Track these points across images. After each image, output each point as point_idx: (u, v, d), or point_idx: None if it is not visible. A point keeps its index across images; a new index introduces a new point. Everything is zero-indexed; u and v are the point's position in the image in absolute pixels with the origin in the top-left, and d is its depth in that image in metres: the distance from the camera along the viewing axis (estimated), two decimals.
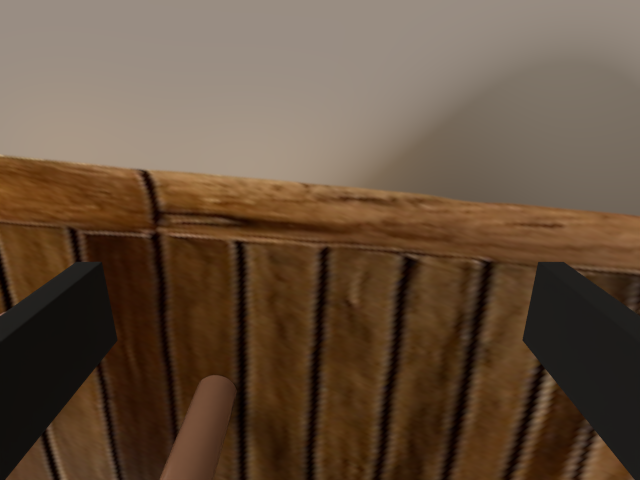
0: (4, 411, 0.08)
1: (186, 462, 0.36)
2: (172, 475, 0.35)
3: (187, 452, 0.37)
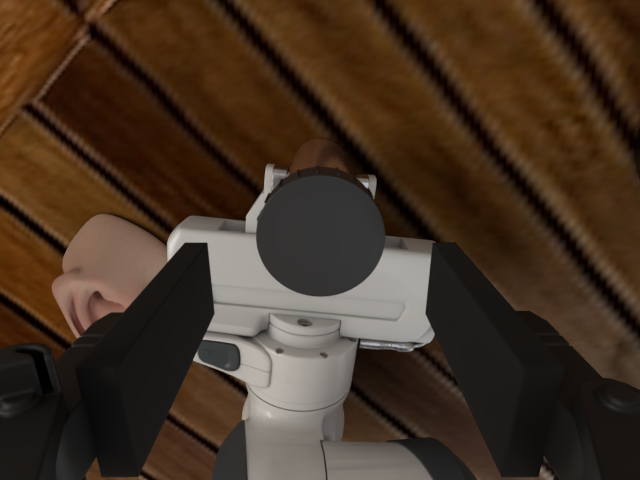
0: (165, 361, 0.10)
1: (293, 172, 0.23)
2: None
3: (292, 171, 0.24)
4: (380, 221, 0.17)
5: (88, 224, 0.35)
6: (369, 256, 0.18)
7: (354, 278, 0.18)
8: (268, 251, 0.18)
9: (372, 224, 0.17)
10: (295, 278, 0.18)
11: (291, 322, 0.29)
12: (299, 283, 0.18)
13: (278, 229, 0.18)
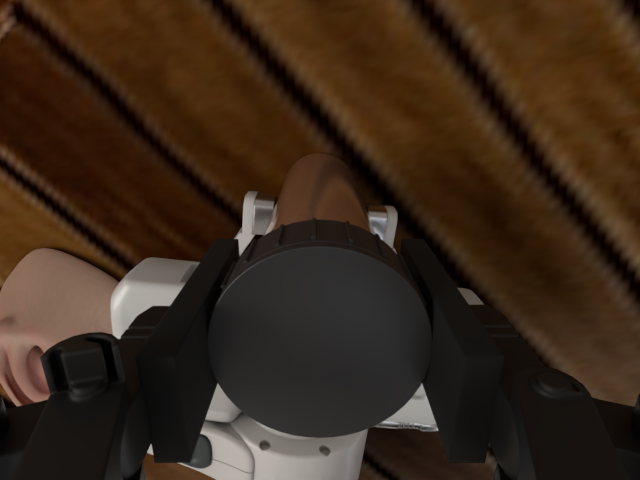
0: None
1: (280, 214, 0.15)
2: None
3: (278, 211, 0.16)
4: (425, 322, 0.10)
5: (24, 261, 0.28)
6: (404, 377, 0.10)
7: (377, 411, 0.11)
8: (229, 370, 0.10)
9: (411, 327, 0.10)
10: (277, 410, 0.11)
11: None
12: (284, 418, 0.11)
13: (245, 335, 0.10)
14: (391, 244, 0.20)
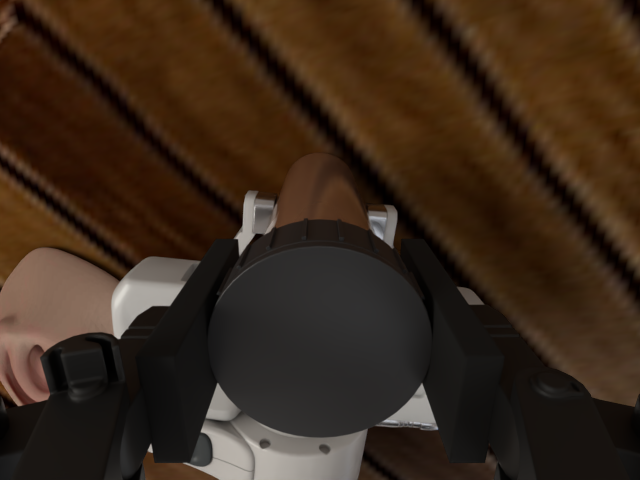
0: (208, 352, 0.10)
1: (280, 213, 0.15)
2: None
3: (278, 210, 0.16)
4: (310, 251, 0.09)
5: (25, 260, 0.28)
6: (374, 281, 0.10)
7: (410, 314, 0.10)
8: (320, 425, 0.11)
9: (313, 266, 0.09)
10: (378, 400, 0.11)
11: None
12: (390, 397, 0.11)
13: (286, 404, 0.11)
14: (391, 243, 0.20)
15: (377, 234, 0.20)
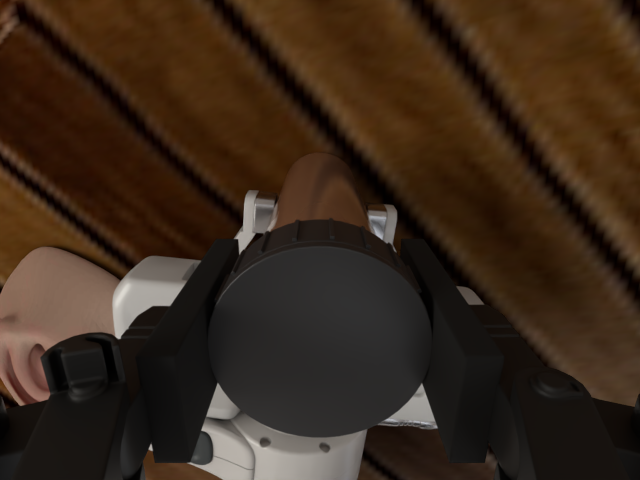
0: None
1: (280, 212, 0.15)
2: None
3: (279, 209, 0.16)
4: (211, 336, 0.10)
5: (26, 260, 0.28)
6: (253, 290, 0.10)
7: (297, 264, 0.09)
8: (410, 369, 0.10)
9: (226, 338, 0.10)
10: (396, 311, 0.10)
11: None
12: (396, 299, 0.10)
13: (374, 391, 0.11)
14: (391, 243, 0.20)
15: (377, 233, 0.20)
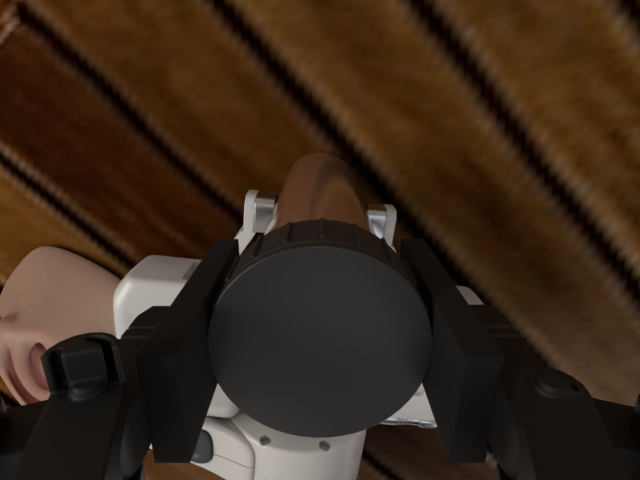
0: None
1: (281, 212, 0.15)
2: None
3: (279, 208, 0.16)
4: (281, 428, 0.11)
5: (27, 259, 0.28)
6: (242, 387, 0.11)
7: (222, 349, 0.10)
8: (365, 274, 0.09)
9: (285, 419, 0.11)
10: (290, 277, 0.09)
11: None
12: (276, 275, 0.09)
13: (383, 313, 0.10)
14: (390, 242, 0.20)
15: (376, 233, 0.20)
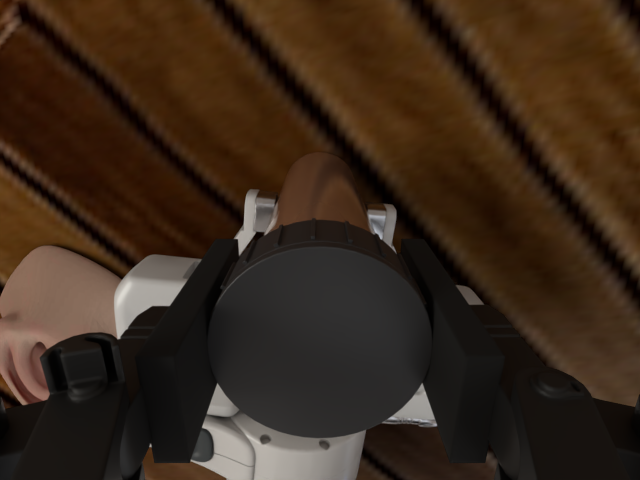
0: None
1: (281, 211, 0.15)
2: None
3: (279, 208, 0.16)
4: (402, 402, 0.11)
5: (28, 258, 0.28)
6: (343, 421, 0.11)
7: (297, 425, 0.11)
8: (243, 297, 0.10)
9: (391, 396, 0.11)
10: (233, 358, 0.10)
11: None
12: (230, 368, 0.10)
13: (289, 289, 0.10)
14: (390, 241, 0.21)
15: (376, 232, 0.20)
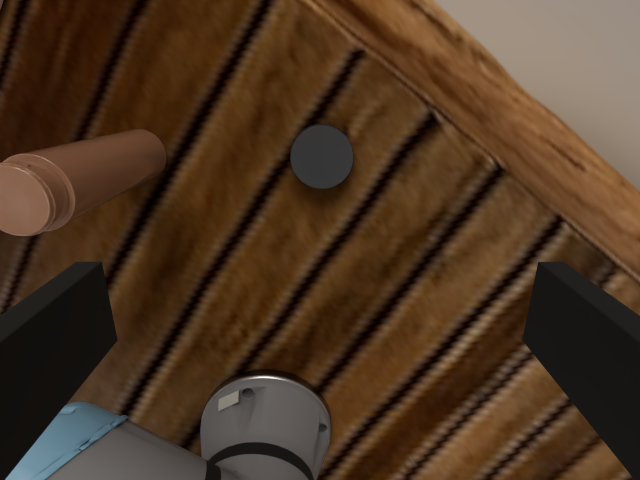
0: (4, 411, 0.08)
1: (85, 153, 0.27)
2: (61, 150, 0.25)
3: (90, 149, 0.28)
4: (346, 175, 0.37)
5: None
6: (328, 182, 0.37)
7: (315, 183, 0.37)
8: (301, 140, 0.36)
9: (342, 173, 0.37)
10: (297, 160, 0.37)
11: None
12: (296, 163, 0.37)
13: (313, 138, 0.36)
14: None
15: None
